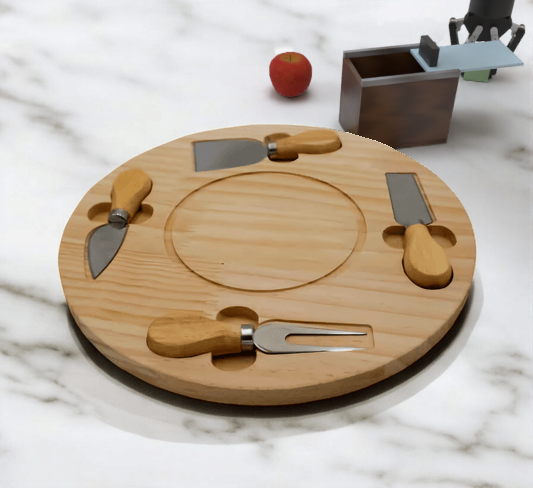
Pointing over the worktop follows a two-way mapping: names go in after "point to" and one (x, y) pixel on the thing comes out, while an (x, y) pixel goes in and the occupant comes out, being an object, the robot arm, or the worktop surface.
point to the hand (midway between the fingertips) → (476, 74)
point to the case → (395, 97)
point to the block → (477, 75)
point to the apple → (290, 73)
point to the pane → (464, 56)
